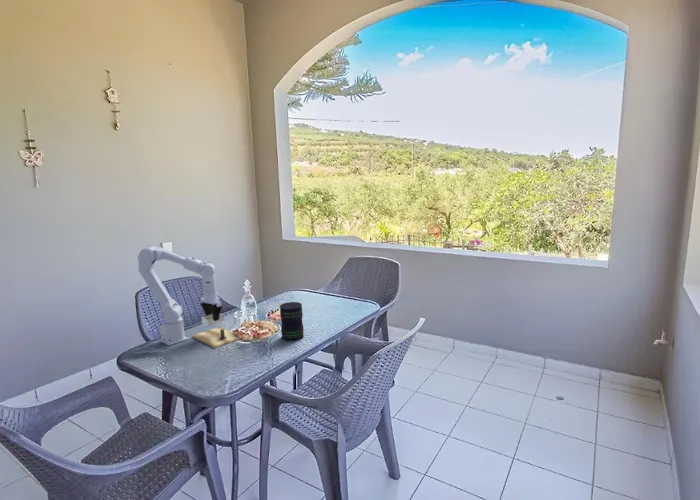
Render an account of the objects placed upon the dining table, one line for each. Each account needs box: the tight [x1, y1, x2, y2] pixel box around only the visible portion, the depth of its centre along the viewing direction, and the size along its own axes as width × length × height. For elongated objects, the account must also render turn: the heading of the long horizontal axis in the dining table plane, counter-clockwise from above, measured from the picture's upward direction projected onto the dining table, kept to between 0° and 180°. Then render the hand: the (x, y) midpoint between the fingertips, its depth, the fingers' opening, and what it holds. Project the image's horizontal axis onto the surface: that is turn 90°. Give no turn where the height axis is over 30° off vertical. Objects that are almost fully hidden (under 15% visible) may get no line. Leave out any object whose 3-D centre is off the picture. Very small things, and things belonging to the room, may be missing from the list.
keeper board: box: [191, 326, 238, 349], centre depth 197 cm, size 14×20×5 cm
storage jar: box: [279, 301, 305, 342], centre depth 194 cm, size 10×10×15 cm
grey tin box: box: [201, 313, 225, 327], centre depth 198 cm, size 8×6×3 cm
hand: (212, 319), depth 198 cm, fingers closed on grey tin box, 6 cm apart
